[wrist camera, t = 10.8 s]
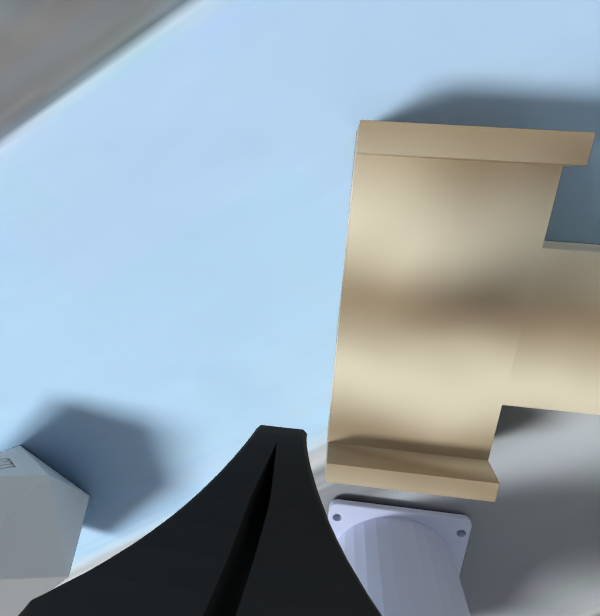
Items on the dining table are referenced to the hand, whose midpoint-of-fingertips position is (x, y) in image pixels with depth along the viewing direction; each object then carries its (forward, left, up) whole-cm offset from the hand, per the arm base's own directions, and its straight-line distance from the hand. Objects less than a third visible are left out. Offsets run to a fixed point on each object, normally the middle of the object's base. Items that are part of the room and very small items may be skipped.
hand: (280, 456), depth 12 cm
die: (-12, +16, -10) cm, 22 cm away
